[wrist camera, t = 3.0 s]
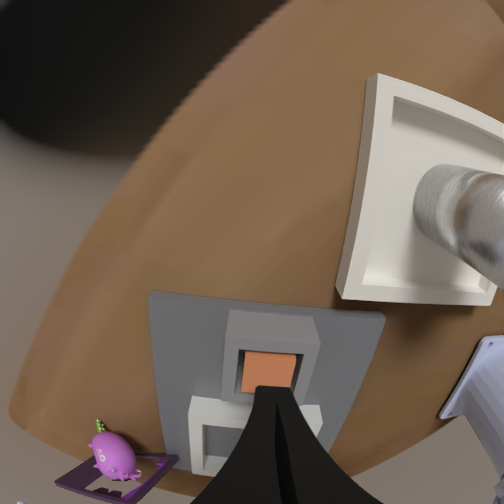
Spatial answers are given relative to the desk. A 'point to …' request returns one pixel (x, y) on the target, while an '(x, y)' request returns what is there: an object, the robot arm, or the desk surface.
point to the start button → (266, 369)
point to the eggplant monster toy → (114, 469)
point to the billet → (464, 216)
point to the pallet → (231, 361)
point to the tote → (411, 196)
